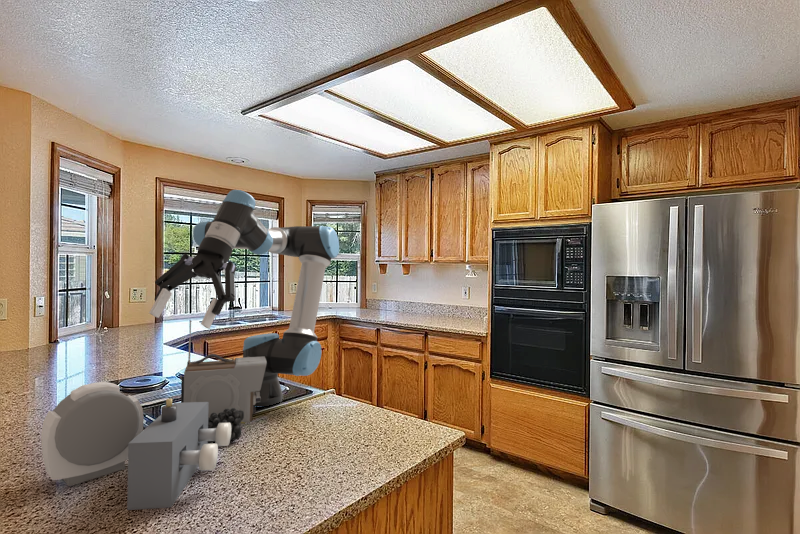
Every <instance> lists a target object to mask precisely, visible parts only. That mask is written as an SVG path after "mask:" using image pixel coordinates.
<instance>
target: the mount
mask: <svg viewBox="0 0 800 534" xmlns="http://www.w3.org/2000/svg"><path fill="white" fill-rule="evenodd" d="M173 404H174V405H177V419H176V420H175V421H173V422H167V423H164V422H161V414H160V415H159V416H158V417H156V419H154V420H153V421H152V422H151V423H150V424H148V425H147V426H146V427H145V428H143V431H142V432H141V433H140V434H138V435H137V436H136V437H135V438H134V439H133V440H132V441H130V442H129V443H128V460H127V500H126V501H127V504H126V506H127V507H126V510H127V511H131V510H150V509H151V510H152V509H163V508H164V509H165V508H166V509H167V508H172V507H173V506H174V504H175V502H176V501H177V499H178V498H179V497H180V495H181V494H182V492H183V491H184V489H185V488H186V486H187V484H189V482H190V480H191V478H192V477H193V476H194V475H195V473H196V471H197V470H198V469H199V465H179V453H180V452H181V451H191V450H201V448H202V446H203V444H209V443H208V441H199V442H198V430H199V429H208V405H209V402H186V403H181V402H174V403H173Z"/></svg>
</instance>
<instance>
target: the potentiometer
mask: <svg viewBox="0 0 800 534" xmlns="http://www.w3.org/2000/svg"><path fill="white" fill-rule="evenodd" d="M160 410H161V411H160V412H161V413H160V415H161V422H164V423H167V422H173V421H175V420H176V419H177V405H174V403H173V398H166V399H165V405H162V406H161V409H160Z"/></svg>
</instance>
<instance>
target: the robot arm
mask: <svg viewBox="0 0 800 534" xmlns="http://www.w3.org/2000/svg"><path fill="white" fill-rule="evenodd" d="M256 205H257V204H256V199H255V198H254V197H253V195H251V194H250V193H248V192H246V191H244V190H241V189H232V190H230V191H229V192H228V193H227V194H226V196H225V197H224V199H223V200H222V202H221V205H220V206H219V208H218V211H217V212H216V214H215V216H214V219H213V220H212V221H209V220H208V221H200V222H198V223H197V224H195V226H194V227H193V229H192V233H193V235H192V238H193V240H194V242H195V244H196V245H197V246H198V247H197V254H196V255H195V256H193V257H192V256H190V255H189V254H188V253H183V255H182V256H181V257H180V259H179V260H178V261H177V262H176V263H174V264H173V265H172V266H171V267H169V269H168V270H166V271H165V272H164V273H163V274H162V275H161V276H160V277H158V278H157V279H156V280H155V281H154V283H155V284H156V285H157V286H158V287H159V290H158V292H157V294H156V295H155V297H154V301H155V302H154V303H153V305H152V307H151V309H150V310H149V312H148V314H150V315H152V316H153V317H155V318H157V319H159V318H160V316H161V315H162V313H163V311H164V308H166V305H167V303H168V302H169V300H170V298H171V296H172V295H173V293H172V292H171V291H173V290H174V289H176V288H177V287H179V286H180V285H182V284H184V283H185V282H187V281H190V280H191V279H193V278H196V277H199V278H206V279H211V281H212V284H213V288H214V291H215V297H216V298H214V297H212V299H211V302H210V304H209V306H208V308H207V310H206V312H205V314H204V316H203V319H202V321H201V323H200V324H201V326H202V327H204V328H206V329H211V327H212V325H213V322H214V321H215V318H216V316H219V315H220V313H221V312H222V310H223V308H224V306H225V304H226V303H229V302H230V303H234V302H235V300H236V292H235V291H236V290H235V287H236V286H235V274H236V271H237V266H236V265H235V264H234V263H233V262H232V261H229V260H230V258H231V256H232V253H233V250H234V249H238V250H240V249H241V250H248V251H250V252H251V253H253V254H254V255H256V256H257V255H259V256H260V255H263V254H266V253H267V252H269V253H271V254H274V255H275V254H277V255H282V256H287V257H292V258H293V257H294V258H298V261H299V262H300V263H301V266H300V272H299V276H298V281H297V286H296V293H295V297H294V302H293V306H292V311H291V316H290V322H289V327H288V329H286V330H285V331H284V332H283V335H282V338H280V336H279V334H278V333H275V332H274V333H273V332H271V333H270V332H269V333H263V334H256V335H251V336H248V337H246V338H245V339H244V341H243V347H242V358H244V357H262V356H265V358H266V361H267V364H266V368H265V373H264V377H263V381H262V385H261V390H260V391H257V392H260V397H261V399H260V402H256V404H255V406H269V405H273V404H276V403H279V402H280V403H282V402H283V400H284V399H283V397H284V396H283V391H282V388H281V384H280V380H279V375H280V374H281V375H288V376H290V375H291V376H296V377H299V376H304V377H305V376H306V377H307V376H310V375H312V374H314V372H315V371H316V370H317V368H318V367H319V365H320V362H321V357H322V352H323V351H322V345H321V343H320V342H319V341H318V336H317V335H316V333H315V329H316V323H317V318H318V317H317V316H318V312H319V306H320V301H321V295H322V289H323V283H324V278H325V273H326V272H325V271H326V268H328V267H329V266H331V262H332V259H335V258H337V257H338V255H339V252H340V242H339V236H338V234H337V232H336V231H335V228H333V227H331V226H325V225H324V226H323V225H312V226H311V225H310V226H307V225H306V226H302V225H296V226H294V225H293V226H284V227H270V228H266V226H265V225H264V223H262V222H261V220H260V219H259V218H258V217H257V215H256V214H255V213H254V210H255V207H256ZM223 271H224V285H223V283H222V281H221V280H222V278H221V275H220V273H221V272H223ZM223 286H224V287H225V289H224V287H223ZM255 394H256V392H255ZM282 399H283V400H282ZM280 403H279V404H280ZM276 405H277V404H276ZM273 406H274V405H273Z"/></svg>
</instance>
